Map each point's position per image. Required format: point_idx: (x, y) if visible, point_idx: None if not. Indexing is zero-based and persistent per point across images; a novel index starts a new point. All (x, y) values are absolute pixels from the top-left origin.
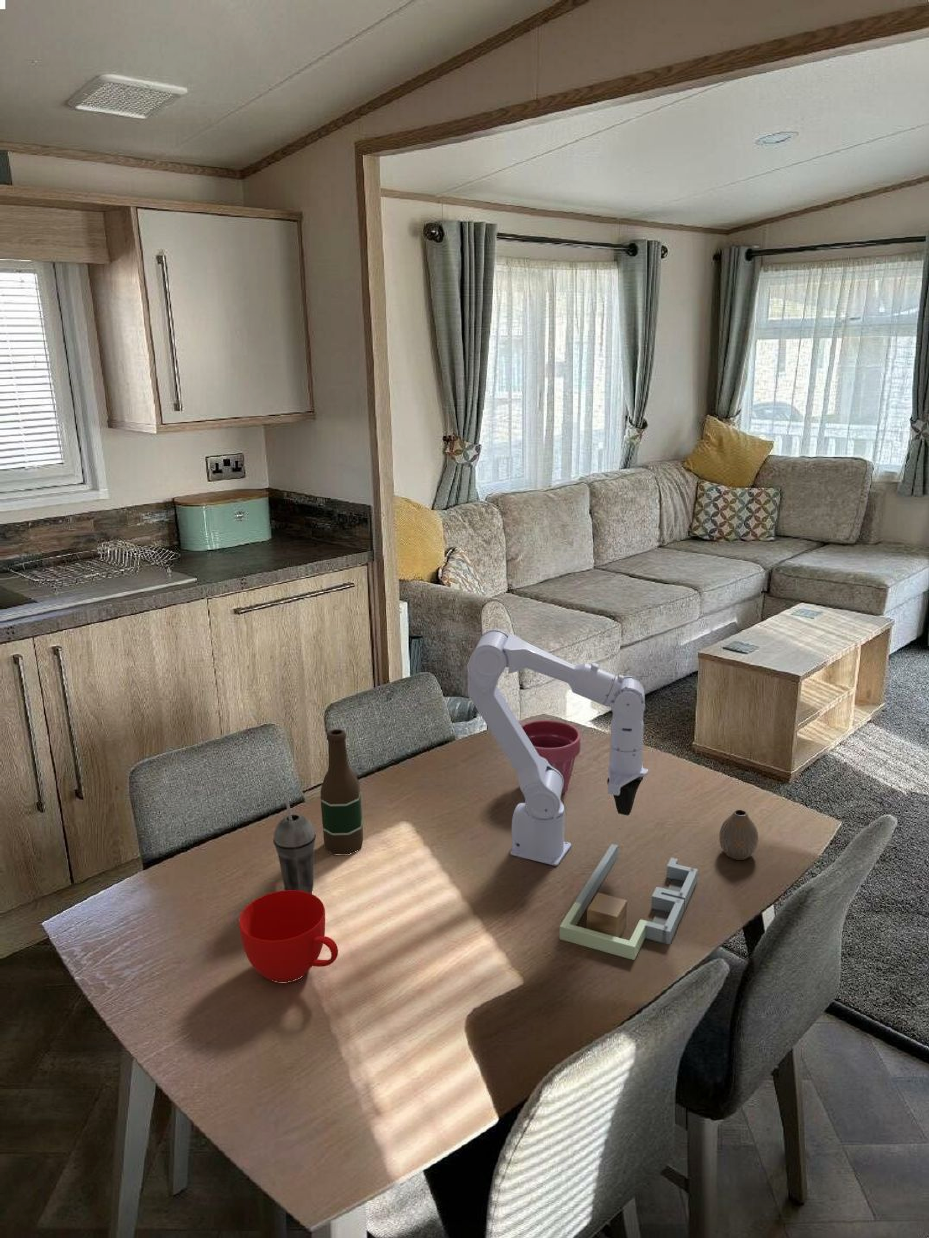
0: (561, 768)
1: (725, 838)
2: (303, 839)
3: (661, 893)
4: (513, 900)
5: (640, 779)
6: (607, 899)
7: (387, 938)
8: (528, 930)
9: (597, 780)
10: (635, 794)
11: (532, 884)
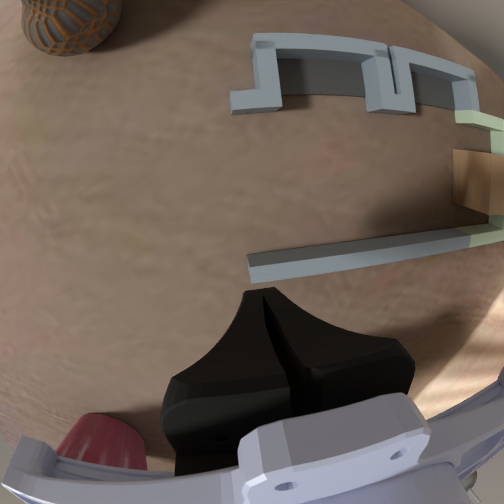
0: (109, 462)
1: (103, 11)
2: (474, 472)
3: (395, 94)
4: (439, 330)
5: (270, 397)
6: (497, 190)
7: (488, 369)
8: (484, 277)
9: (36, 382)
10: (236, 329)
11: (401, 335)
